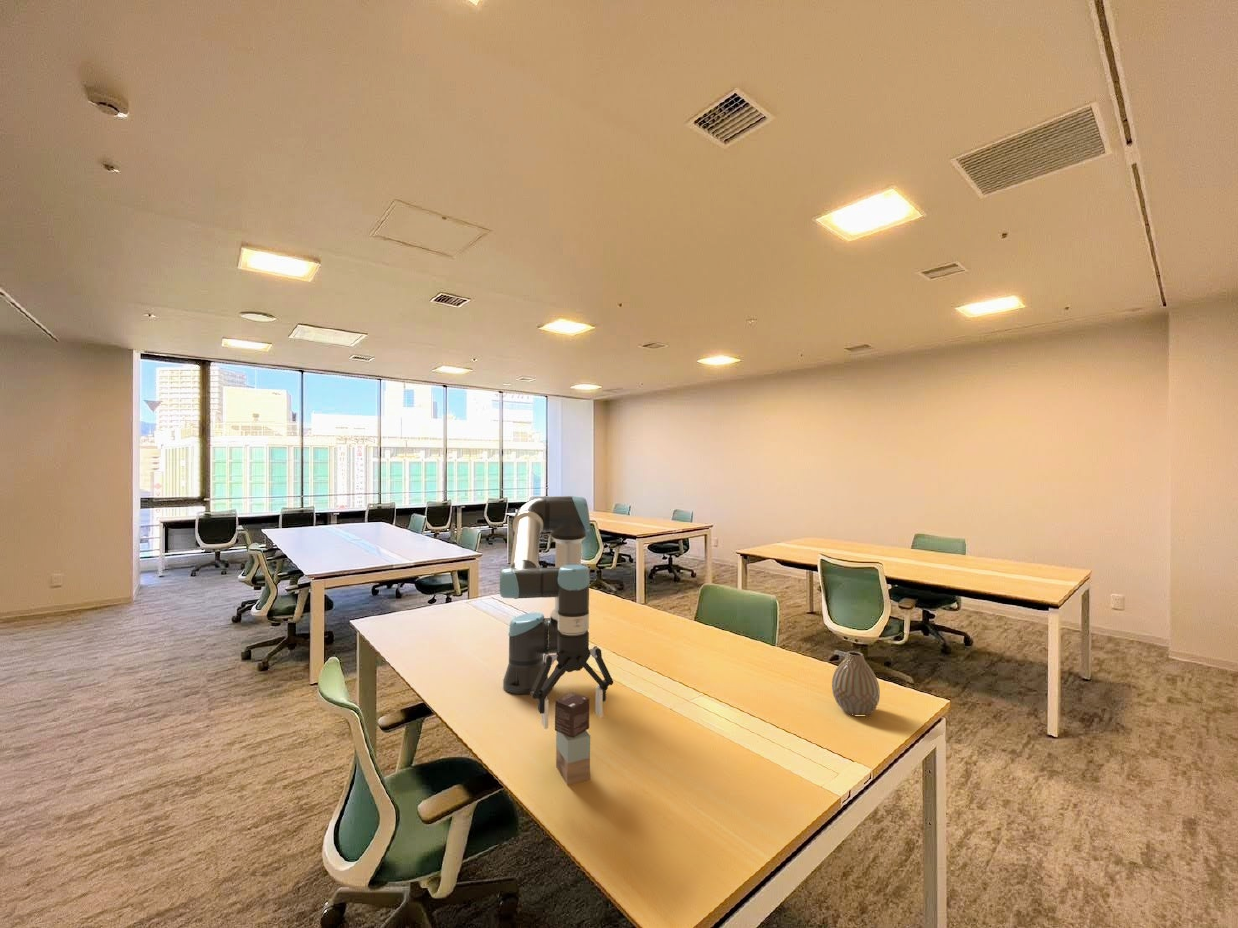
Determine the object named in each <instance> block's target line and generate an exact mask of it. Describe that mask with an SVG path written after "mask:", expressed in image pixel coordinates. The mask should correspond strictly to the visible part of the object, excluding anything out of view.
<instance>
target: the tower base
mask: <svg viewBox="0 0 1238 928" xmlns="http://www.w3.org/2000/svg"><path fill="white" fill-rule="evenodd" d="M555 747H556V746H555ZM555 750H556V751H555V755H556V756H555V767H556V769H557V771H558V772H559V774H560V776H561V777H562V779H563V780H564V783H565V784H566V785H567V786H569V785H573V784H577V783H580V782H585V781H588V780H591V757H590V758H586V759H583V760H579V761H575V762H571V763H567V762H566V760H565V759H564V757H563V756H562V754H561V753H560V751H559V750H558V748H557V747H556V748H555Z"/></svg>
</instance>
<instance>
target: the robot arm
mask: <svg viewBox="0 0 1238 928" xmlns="http://www.w3.org/2000/svg"><path fill="white" fill-rule="evenodd" d="M590 521H591V520H590V512H589V505H588V500H587V499H586V498H585V497H582V496H573V495H572V496H571V495H570V496H569V495H568V496H566V495H565V496H538V497H535V498H532V499H530V500H528V501H527V502H526V503H524V504H523V505H521V507H519V509H518V510H517V511H516V512H515V515H514V517H513V520H512V529H513V532H514V537H513V542H512V551H511V558H510V565H509V568H503V569H502V570H500V575H499V595H500V597H501V598H503V599H514V600H516V599H532V598H533V599H536V598H538V599H539V598H554V609H553V610H552V611H551V612H550V616H549V617H545V615H544V614H543V613H542V612H529V613H524V614H521V615H517V616H515V617H514V618H513V619H512V620H510V623H509V628H508V629H509V630H508V636H509V638H508V664H507V667H506V670H505V673H504V676H503V679H502V686H503V687H502V688H503V690H504V691H506V692H508V693H510V694H514V695H531V697H532V699H534V700H537V710H538V712H539V714H541V726H543V728H544V729H545V730H547V729H549V698H548V695H549V694H550V692H551V691H553V688H554V687H555V685H556V684H557V683H558V681H559V680H560V678H561V677H562V676H563V675H565V673H566V672H567V673H572V672H574V671H575V672H578V671H581V670H582V669H584V670H585V671H586V672H587V673H588V674H589V675H590V676H591V678H592V679H593V680H594V681H595V682H596V683H597V686H596V685H595V705H594V707H595V709H594V710H595V714H596V716H597V717H598V718H603V702H604V703H605V702H606V700H607V690H608V689H609V686H612V685H614V680H613V678H612V676H611V674H610V671H609V670H608V667H607V666H606V663H605V662H604V659H603V657H602V650H601V649H600V648H599V647H598V646H597V645H594V646H593V648H589V647H590V644H589V643H590V632H589V629H590V609H589V607H590V583H591V579H590V568H589V567H588V566H586V565H583V564H582V561H581V560H582V542H583V540H585V539H586V538H587V537H586V536H587V535H586V533H588V532H590V531H591V522H590ZM542 532H545V533H548V532H550V533H551V534H550V536H551V537H550V538H551V539H553V541H554V542H555V565H554V567H539V558H540V555H539V554H540V534H541V533H542ZM590 656H591V657H592V658H594V660H595V663H596V664H597V666H598V668H599V670H600V672H601V675H602V676H603V678H604V679H602V678H601V677H600V676H599V675H598V674H597V672H596V671H595V670H594V669H593V668H592V667H591V665H590V664H589V663H588V661H589V659H590ZM555 661H556V662H557V664H556V665H555V667H554V670H553V671H552V672H551V674H550V675H549V673H550V671H551V669H552V665H554V663H555Z"/></svg>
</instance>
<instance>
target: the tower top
mask: <svg viewBox="0 0 1238 928" xmlns="http://www.w3.org/2000/svg"><path fill="white" fill-rule="evenodd" d="M555 733H556V735H555V736H556V737H555V738H556V739H555V740H556V741H555V743H556V745H555V747H557V748H558V750H559V751H560V753H561V754H562V756H563V757H564V759H565V760H566V762H567V763H571V762H575V761H579V760H583V759H586V758H590V759H591V735H590V734H589V732H588V731H587V730H586V731H584V732H582V733H580V734H579V735H577V736H575V737H574V738H570V737H568V736H566V735H564V734H562V733H559V732H557V731H555Z"/></svg>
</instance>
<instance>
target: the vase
mask: <svg viewBox="0 0 1238 928" xmlns="http://www.w3.org/2000/svg"><path fill="white" fill-rule="evenodd" d="M831 689H832V695H833V697H834V699H835V702H836V703H837V705H838V706H839V707H840V709H842V711H844V712H845V713H846V712H847V713H846V714H848V713H849V715H850V714H853V715H867V716H869V715H870V714H872V713H874V711H875V710H876V709H877V706H878V705H879V702H880V695H881V693H880V692H881V690H880V684H879V680H878V678H877V677H876V674H875V673H874V671H873V670H872V668H871V666H870V665H869V664H868V663H867V661H866V660H865V657H864V654H863V653H861V652H859V651H854V650H850V651H847V652H846V656H845V658H844V659H843V660H842V661H841V662H840V663H839V664H838V666H837V667H836V669H835V670H834V672H833V675H832V679H831ZM853 715H852V716H853Z"/></svg>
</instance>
